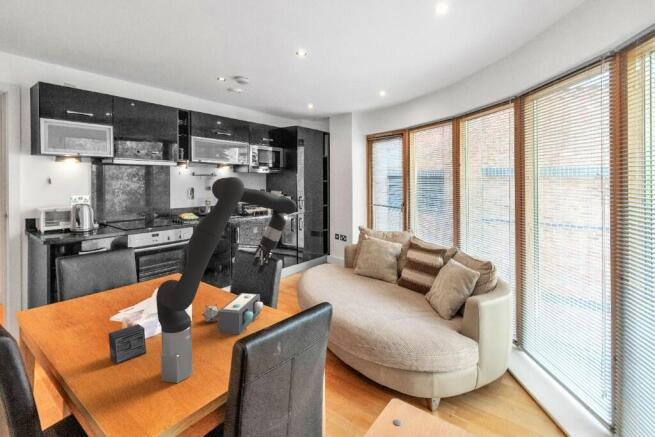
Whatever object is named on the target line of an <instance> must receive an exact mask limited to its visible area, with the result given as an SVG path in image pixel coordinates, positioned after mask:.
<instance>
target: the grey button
mask: <svg viewBox="0 0 655 437" xmlns="http://www.w3.org/2000/svg"><path fill="white" fill-rule="evenodd" d="M263 307H264V303H263V301H260V302H255V303H254V311H260V312H262V311H263V309H264V308H263Z"/></svg>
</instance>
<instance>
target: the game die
mask: <svg viewBox="0 0 655 437" xmlns="http://www.w3.org/2000/svg"><path fill="white" fill-rule="evenodd" d="M217 306H218V303H216V304H215V305H209V306H207V305H206V304H205V308H204V311H203V313H202V314H201V316H203V317H204V319H205V320H204V321H205V324H207V323H210V322H216V323H218V311H219V309H218V307H217Z"/></svg>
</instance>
